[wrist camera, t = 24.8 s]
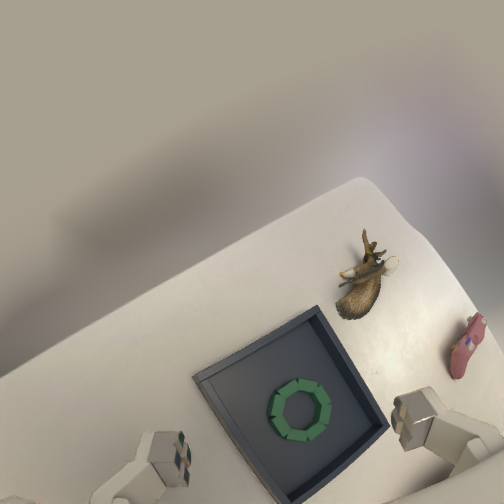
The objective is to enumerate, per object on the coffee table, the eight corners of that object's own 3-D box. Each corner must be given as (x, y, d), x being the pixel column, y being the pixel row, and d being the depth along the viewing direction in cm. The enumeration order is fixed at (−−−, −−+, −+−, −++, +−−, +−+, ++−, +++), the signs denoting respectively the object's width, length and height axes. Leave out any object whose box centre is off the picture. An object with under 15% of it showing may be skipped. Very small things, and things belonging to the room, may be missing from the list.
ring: (256, 402, 29) (260, 401, 28) (305, 369, 32) (310, 367, 31) (288, 452, 27) (294, 453, 26) (335, 416, 30) (341, 416, 29)
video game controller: (459, 328, 44) (478, 301, 39) (478, 343, 41) (499, 316, 37) (434, 367, 39) (456, 341, 34) (456, 384, 37) (481, 359, 32)
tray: (192, 376, 29) (195, 374, 26) (307, 311, 35) (317, 304, 33) (279, 506, 24) (289, 512, 22) (377, 426, 31) (390, 426, 29)
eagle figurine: (334, 235, 40) (319, 285, 34) (387, 222, 36) (382, 275, 30) (355, 278, 43) (343, 329, 37) (403, 269, 39) (399, 323, 33)
